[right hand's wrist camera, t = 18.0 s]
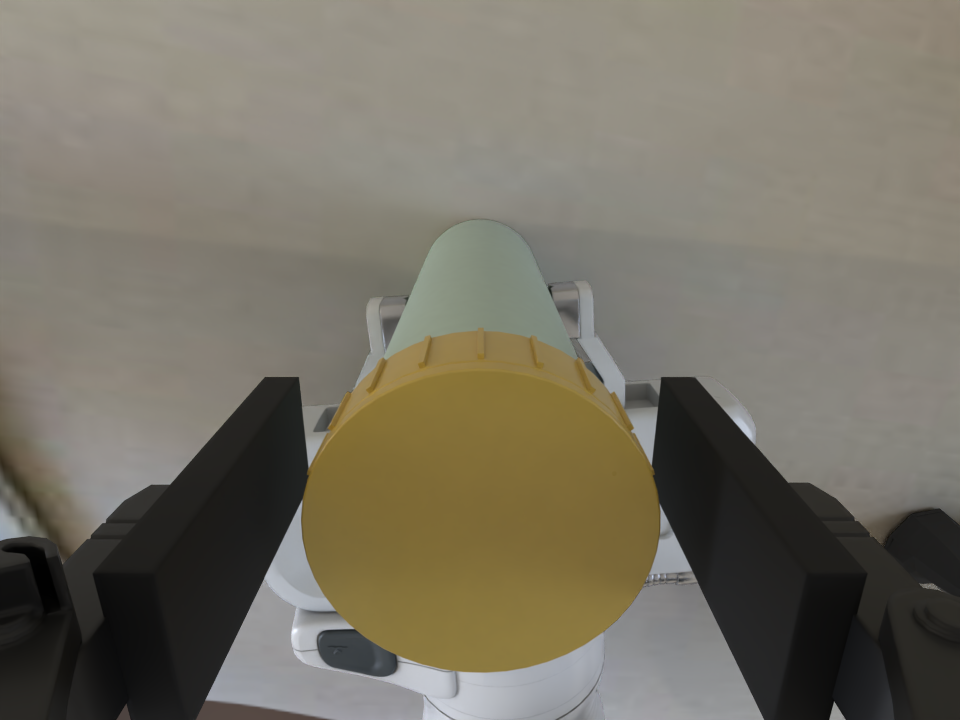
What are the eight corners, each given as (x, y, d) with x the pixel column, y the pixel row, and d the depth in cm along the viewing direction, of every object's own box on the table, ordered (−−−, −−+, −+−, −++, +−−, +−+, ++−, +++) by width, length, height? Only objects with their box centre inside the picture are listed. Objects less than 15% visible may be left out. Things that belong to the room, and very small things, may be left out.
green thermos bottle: (543, 321, 30) (642, 611, 12) (435, 338, 30) (368, 647, 12) (528, 209, 28) (616, 350, 10) (413, 229, 29) (295, 401, 10)
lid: (623, 303, 11) (652, 337, 9) (645, 580, 13) (673, 653, 11) (289, 354, 11) (252, 397, 10) (363, 616, 14) (344, 693, 12)
